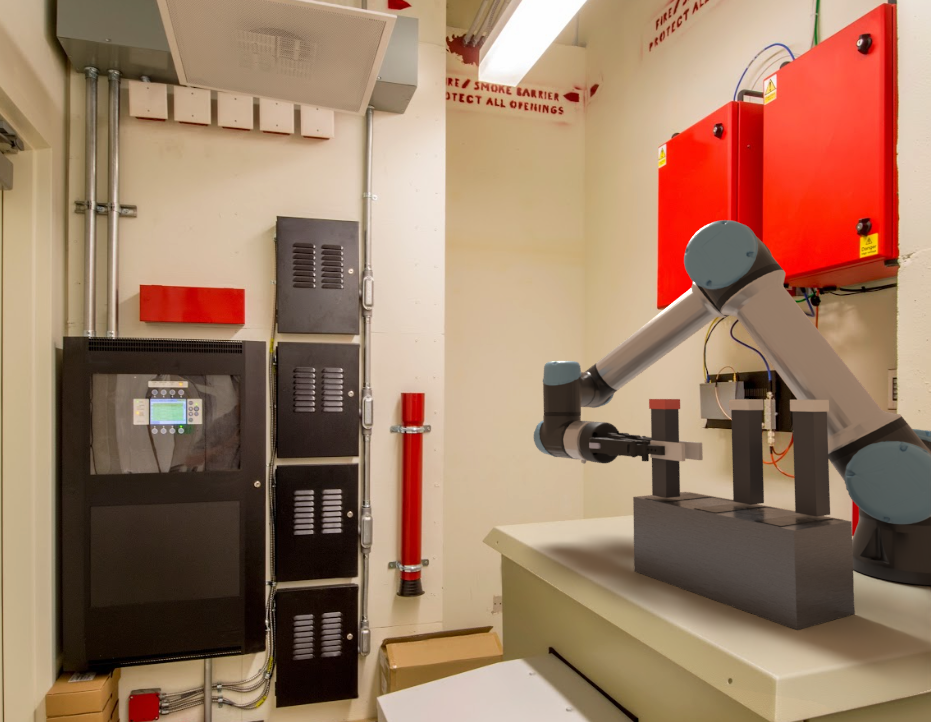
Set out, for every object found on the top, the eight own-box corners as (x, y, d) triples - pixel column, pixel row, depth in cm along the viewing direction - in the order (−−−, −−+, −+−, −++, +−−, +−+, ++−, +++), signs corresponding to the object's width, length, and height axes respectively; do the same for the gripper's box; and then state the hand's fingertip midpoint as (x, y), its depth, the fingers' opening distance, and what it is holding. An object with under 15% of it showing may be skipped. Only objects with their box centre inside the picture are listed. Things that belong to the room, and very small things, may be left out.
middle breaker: (731, 501, 92) (729, 399, 93) (746, 499, 94) (743, 399, 95) (751, 505, 89) (748, 399, 90) (766, 503, 91) (763, 399, 92)
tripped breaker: (650, 495, 98) (649, 399, 99) (665, 493, 99) (664, 399, 100) (666, 498, 95) (664, 399, 96) (681, 496, 96) (680, 399, 97)
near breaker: (793, 512, 83) (789, 399, 84) (808, 510, 85) (805, 399, 86) (817, 517, 80) (813, 399, 81) (832, 514, 82) (828, 399, 83)
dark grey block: (634, 571, 98) (633, 496, 99) (686, 562, 104) (685, 491, 105) (796, 629, 74) (794, 529, 74) (854, 613, 79) (851, 520, 80)
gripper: (626, 459, 117) (728, 473, 96) (558, 463, 110) (653, 479, 89) (625, 421, 118) (727, 426, 97) (558, 422, 110) (652, 428, 89)
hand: (691, 451), depth 93 cm, fingers closed on tripped breaker, 3 cm apart
